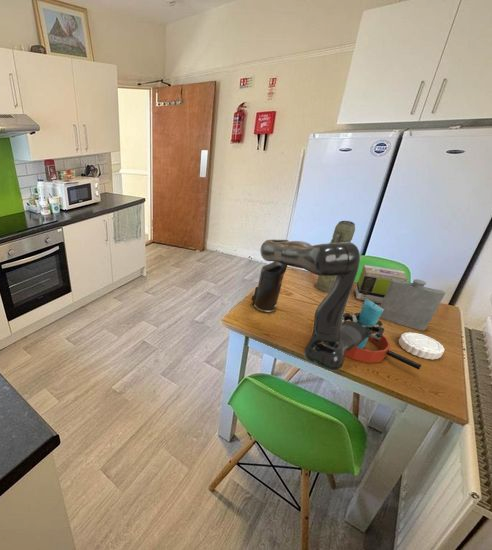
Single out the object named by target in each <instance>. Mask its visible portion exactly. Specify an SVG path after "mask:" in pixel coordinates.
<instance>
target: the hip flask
mask: <svg viewBox="0 0 492 550" xmlns="http://www.w3.org/2000/svg"><path fill="white" fill-rule="evenodd" d="M426 284H427V282H426V281H425V280H422V279H417V278H416V279H413V282H409V281H407V282H405V281H400V280H397V279H392V281H391V283H390V285H389V287H388V290H387V292H386V294H385V296H384V299H383V301H382V303H381V304H380V306H379V307H381V308H382V309H384V311H383V312H382V314H381V316H380V317H379V319H383V320H385V321H388V322H391V323H393V324H397V325H401V326H404V327H407V328H411V329H414V330H419V331H426V329H428V328H427V327H428V326H429V324H430V322H431V320H432V319H433V317H434V315H435V313H436V311H437V310H438V308H439V306H440V304H441V302H442V300H443V299H444V296H445V295H446V291H444V290H441V289H437V288H432V287H428V286H426Z"/></svg>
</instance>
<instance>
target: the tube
mask: <svg viewBox="0 0 492 550" xmlns="http://www.w3.org/2000/svg"><path fill="white" fill-rule="evenodd" d="M363 301H364V302H363V303H362V304H363V305H362V308H361V310H360V315H359V317H358V320H357V321H358V322H360V323H362V324H365V325H367V324H372V325H374V324H376V323H377V322H378V321H379V319H380V316H381V314H382V312H383V311H384V309H382V308H381V307H380V306H379V305H378V304H377V303H375V302H371V301H370V300H368V299H367V298H366V299H365V300H363ZM368 338H369V337H368ZM368 338H366V339H364V340H363V341H362V342H361V343H360V344H359V345H358V346H356V347H357V348H361V349H365V346H366V344H367V343H368V341H369V340H368Z"/></svg>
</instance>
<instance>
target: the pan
mask: <svg viewBox="0 0 492 550" xmlns="http://www.w3.org/2000/svg"><path fill="white" fill-rule="evenodd" d="M374 333H376V332H372V334H374ZM367 341H371V342H372V343H373V344H374V345H375V346H377V347H378V348H379V349H380V350H379V349H378V350H371V349H365V348H364V349H361V348H357V347H355V348H353V349H352V350H350V351H349V352H348V353H347V354H346V356H345V357H348V358H350V359H352V360H356V361H358V362H363V363H366V364H367V363H369V364H370V363H371V364H372V363H380V362H382V361H383V360H384V359H385V358H386V357H387V356H389V357H391V358H393V359H395V360H397V361H398V362H399V361H400V362H402V363H403V364H406V365H408V366H410V367H412V368H414V369H415V370H420V369H421V368H422V364H421V363H418V362H416V361H414V360H412V359H409V358H408V357H405V356H403V355H401V354H399V353H396V352H394V351H392V350H390V349H391V343H390V341H389V339H388V337H386V336H385V335H384V334H382V337H381V339H380V341H379V342H377V341H375V338H372V337H369V338H368V340H367Z"/></svg>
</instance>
